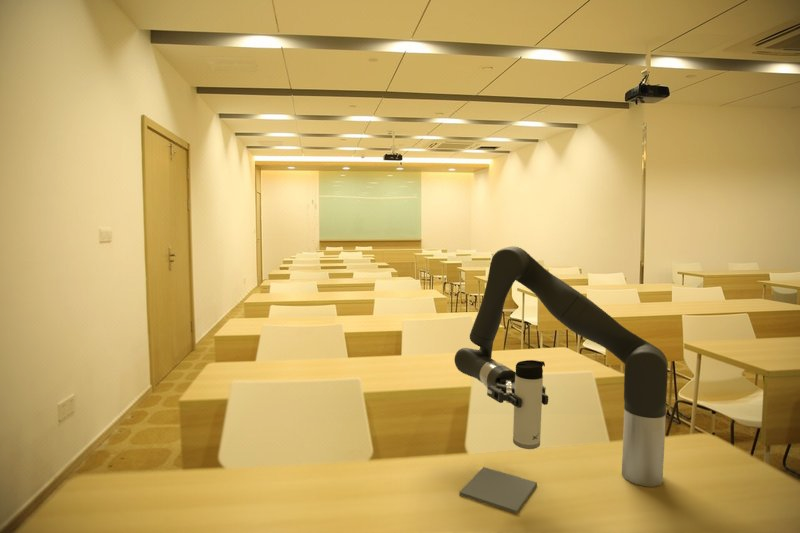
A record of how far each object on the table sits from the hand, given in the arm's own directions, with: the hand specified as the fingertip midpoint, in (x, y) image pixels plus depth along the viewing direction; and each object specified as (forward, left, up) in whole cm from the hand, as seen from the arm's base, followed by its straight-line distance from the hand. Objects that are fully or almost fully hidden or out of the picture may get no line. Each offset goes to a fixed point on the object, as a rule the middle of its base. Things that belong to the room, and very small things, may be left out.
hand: (533, 402), depth 112 cm
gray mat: (+2, -8, -23) cm, 24 cm away
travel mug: (-2, -2, -11) cm, 12 cm away
